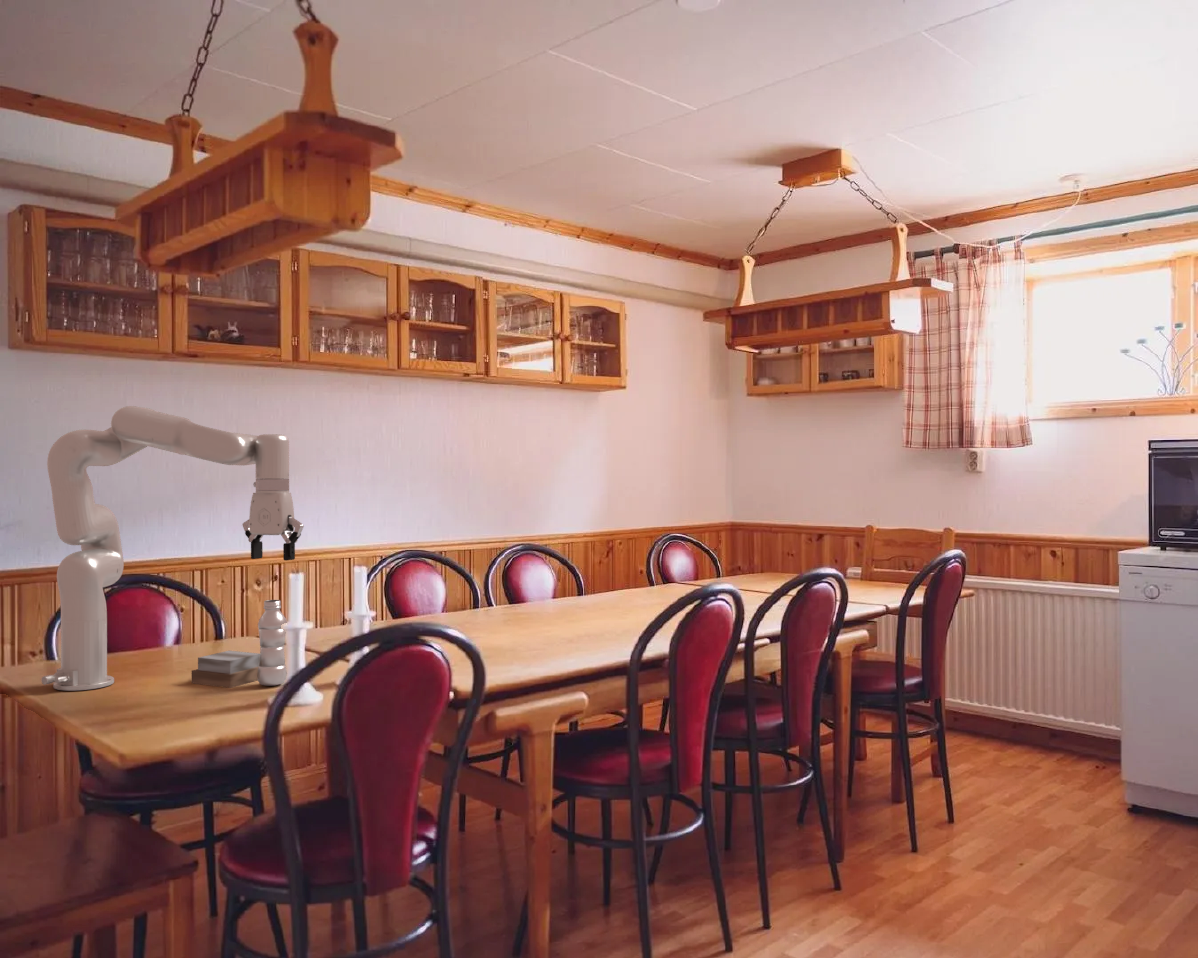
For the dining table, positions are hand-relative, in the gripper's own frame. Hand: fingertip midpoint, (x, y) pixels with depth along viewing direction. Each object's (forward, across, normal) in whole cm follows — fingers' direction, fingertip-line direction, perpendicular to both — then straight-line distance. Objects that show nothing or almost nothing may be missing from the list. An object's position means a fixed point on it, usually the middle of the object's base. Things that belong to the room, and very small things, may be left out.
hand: (272, 559), depth 226 cm
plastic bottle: (+30, 0, 0) cm, 30 cm away
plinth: (+30, -13, 0) cm, 33 cm away
